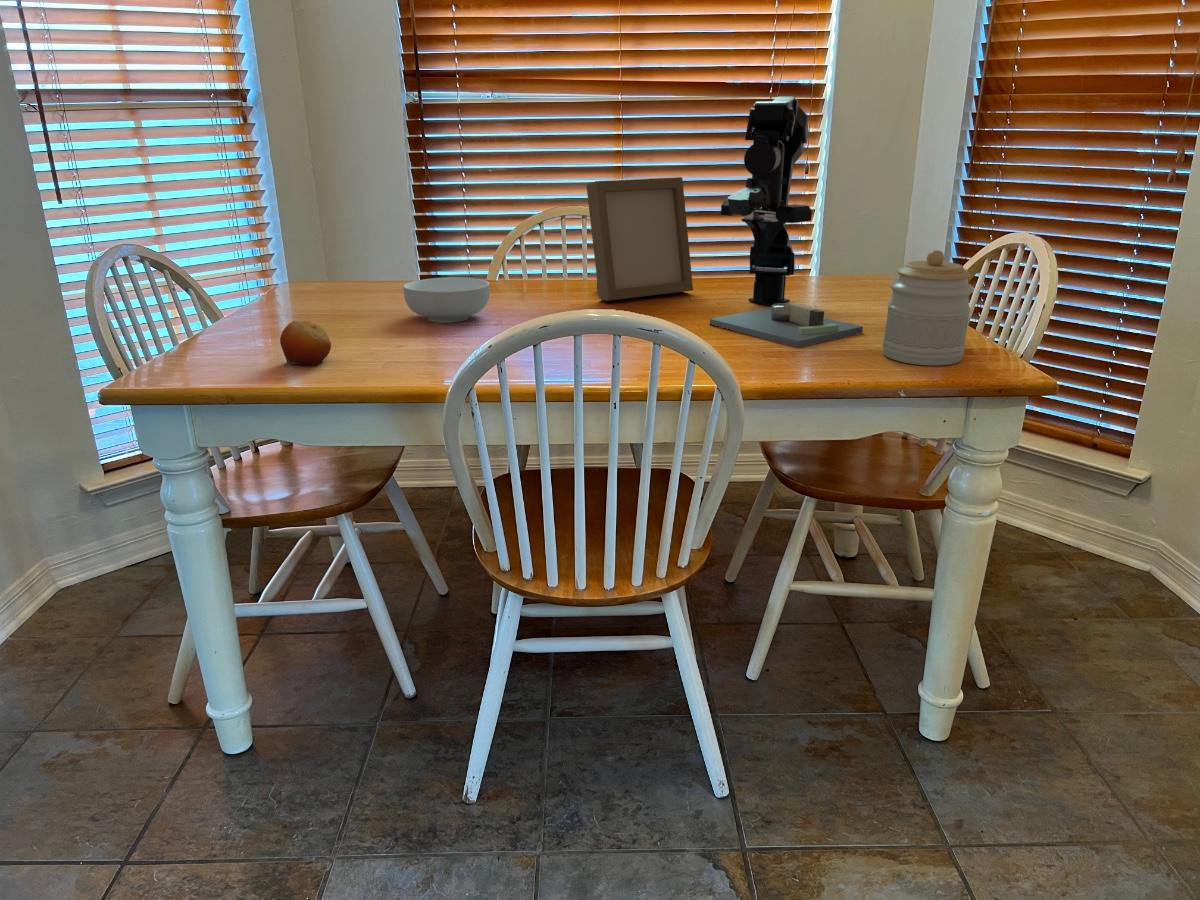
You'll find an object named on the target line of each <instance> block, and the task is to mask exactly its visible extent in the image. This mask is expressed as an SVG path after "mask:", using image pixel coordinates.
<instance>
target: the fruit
mask: <svg viewBox="0 0 1200 900" xmlns="http://www.w3.org/2000/svg"><path fill="white" fill-rule="evenodd" d="M328 335H329V334H327V332H326V330H324V328H322V327H321V326H320V325H318V324H316V323H313V322H311V321H309V320H304V321H299V320H292V321H290V322H289V323H288V324H287V325H286V326H285V327H284V329H282V332H281V334H280V337H279V342H280V347H281V349H282V352H283V355H284V357H285V360H286V363H284V365H283V367H286V366H288V365H289V364H297V365H299V366H300V365H301V366H317V365H319V364H321V363H322V362H323V360H324V359H326V358H327V356H328V355H329V353H330V351H331V350H332V342H331V340H330V337H329V336H328ZM324 361H325V360H324Z"/></svg>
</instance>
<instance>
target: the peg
mask: <svg viewBox="0 0 1200 900" xmlns="http://www.w3.org/2000/svg"><path fill="white" fill-rule="evenodd" d="M771 307H772V310H771V318H772V319H774V320H778V321H790V322H794V323H797V324H800V325H803V326H807V327H808V326H819V325H823V320H824V318H825V310H821V309H818V308H814V307H812V306H807V305H803V304H800V303H797V302H793V301H790V302H786V303H776V304H773V305H771Z"/></svg>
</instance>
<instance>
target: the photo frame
mask: <svg viewBox="0 0 1200 900" xmlns="http://www.w3.org/2000/svg"><path fill="white" fill-rule="evenodd" d="M586 194H587V202H588V211H589V219H590V231H591V238H592V239H591V240H592V246H593V255H594V256H593V257H594V263H595V273H596V291H598V299H601V300H605V301H604V302H607V301H614V300H615V301H617V300H624V299H632V298H640V297H641V298H642V297H648V296H658V295H665V294H674V293H682V292H691V291H694V288H693V287H694V284H693V275H692V265H691V264H692V263H691V255H690V242H689V232H688V231H689V230H688V222H687V213H686V201H685V200H686V199H685V192H684V180H683V177H681V176H678V177H677V176H676V177H661V178H660V177H657V178H636V179H616V180H615V179H613V180H612V179H611V180H597V181H592V182H590V183H587V184H586Z"/></svg>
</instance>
